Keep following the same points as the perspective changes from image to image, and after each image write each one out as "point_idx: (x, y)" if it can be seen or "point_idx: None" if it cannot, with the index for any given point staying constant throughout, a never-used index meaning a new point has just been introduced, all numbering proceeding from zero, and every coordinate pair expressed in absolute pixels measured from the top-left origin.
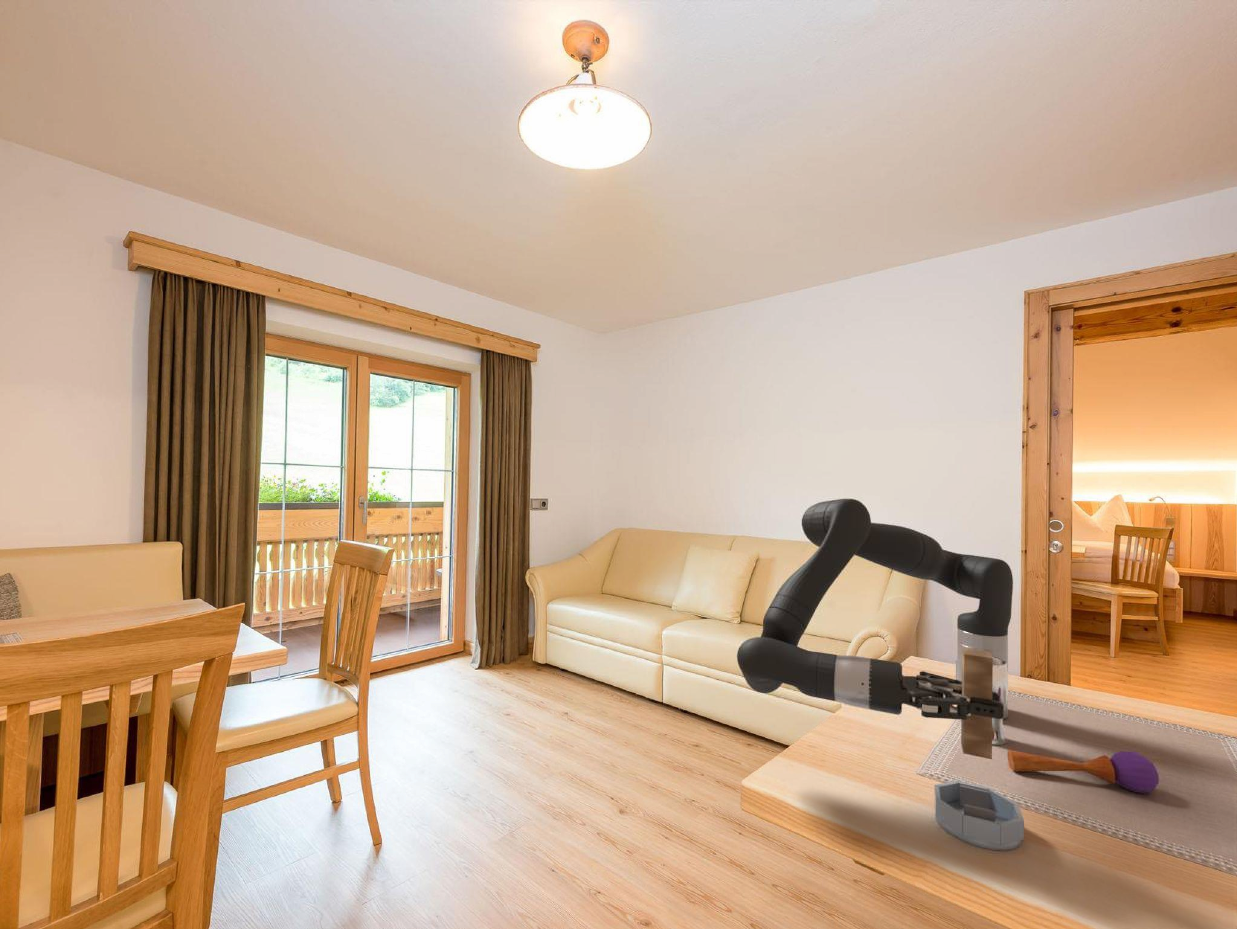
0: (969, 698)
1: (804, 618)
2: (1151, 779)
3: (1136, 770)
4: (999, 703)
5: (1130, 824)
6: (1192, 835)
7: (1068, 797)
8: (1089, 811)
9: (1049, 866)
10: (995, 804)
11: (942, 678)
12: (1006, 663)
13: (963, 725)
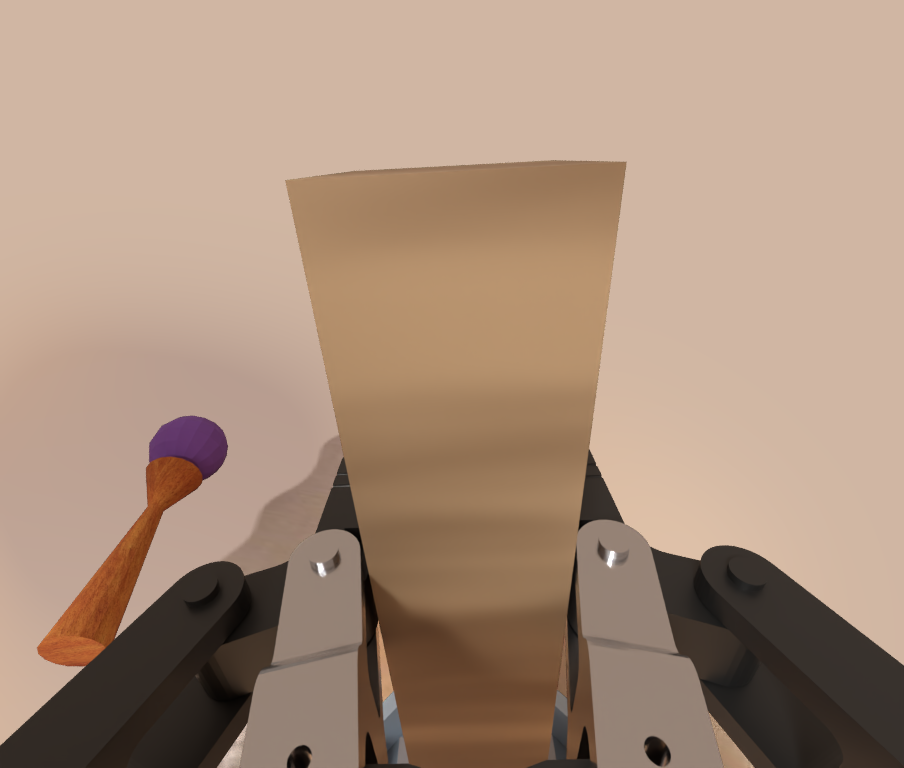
0: (631, 530)
1: None
2: (224, 436)
3: (212, 439)
4: None
5: (327, 498)
6: (335, 448)
7: (242, 563)
8: (295, 541)
9: (565, 647)
10: (390, 734)
11: (93, 743)
12: None
13: (543, 701)
